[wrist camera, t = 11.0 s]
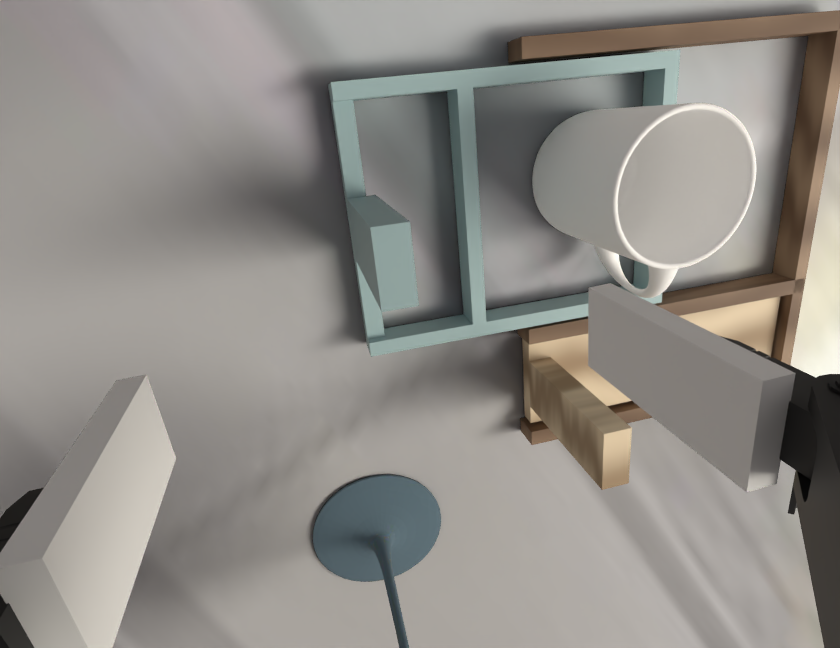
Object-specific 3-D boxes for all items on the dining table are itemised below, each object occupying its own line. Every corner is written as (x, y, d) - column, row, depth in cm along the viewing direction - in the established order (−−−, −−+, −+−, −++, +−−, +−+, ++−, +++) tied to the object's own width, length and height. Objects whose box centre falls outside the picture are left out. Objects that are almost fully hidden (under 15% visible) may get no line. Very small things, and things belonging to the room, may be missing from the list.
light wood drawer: (522, 337, 41) (604, 412, 30) (768, 291, 45) (919, 342, 34) (524, 415, 43) (601, 509, 33) (757, 364, 47) (893, 433, 37)
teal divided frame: (328, 85, 32) (348, 61, 21) (658, 54, 36) (822, 20, 25) (366, 344, 38) (397, 431, 27) (643, 294, 42) (768, 352, 31)
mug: (542, 290, 40) (624, 342, 30) (519, 126, 35) (606, 125, 26) (643, 259, 41) (753, 300, 31) (633, 96, 36) (759, 84, 27)
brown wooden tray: (507, 42, 33) (521, 36, 31) (823, 15, 38) (853, 9, 36) (520, 430, 44) (531, 444, 42) (765, 375, 48) (786, 386, 46)
